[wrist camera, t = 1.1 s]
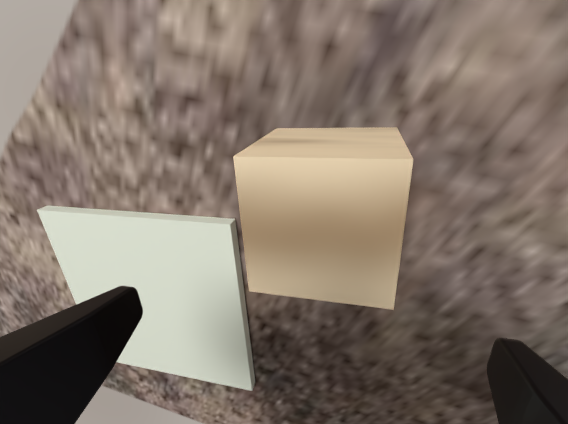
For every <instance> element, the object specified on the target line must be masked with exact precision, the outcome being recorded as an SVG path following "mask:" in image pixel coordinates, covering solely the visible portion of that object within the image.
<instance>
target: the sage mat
mask: <svg viewBox="0 0 568 424" xmlns="http://www.w3.org/2000/svg"><path fill="white" fill-rule="evenodd" d="M37 211H38V213H39V216H40V218H41V221H42V223H43V225H44V228H45V230H46V233H47V235H48V238H49V240H50V242H51V245H52V247H53V250H54V252H55V254H56V257H57V259H58V262H59V264H60V266H61V269H62V271H63V274H64V276H65V278H66V281H67V283H68V286H69V288H70V290H71V293H72V295H73V298H74V300H75V302H76V305H77V304H79V303H81V302H84V301H86V300H88V299H91V298H93V297H95V296H98V295H100V294H102V293H105V292H107V291H109V290H112V289H114V288H116V287H119V286H130V287H134V288H136V289H137V291H138V294H139V298H140V301H141V304H142V308H143V315H142V318H141V320H140V322H139V323H138V325H137V327H136V329H135V330H134V332H133V334H132V336H131V337H130V339H129V341H128V343H127V344H126V346H125V348H124V350H123V351H122V353H121V355H120V357H119V358H118V360H117V362H119V363H123V364H128V365H133V366H137V367H142V368H147V369H152V370H156V371H161V372H166V373H170V374H175V375H180V376H185V377H189V378H194V379H199V380H203V381H208V382H213V383H218V384H222V385H227V386H232V387H236V388H241V389H246V390H251V391H252V390H253V387H254V384H255V375H254V367H253V359H252V351H251V343H250V335H249V327H248V318H247V310H246V302H245V294H244V286H243V278H242V270H241V262H240V253H239V245H238V237H237V229H236V221H235V219H231V218H217V217H203V216H189V215H174V214H160V213H146V212H131V211H117V210H103V209H88V208H74V207H60V206H45V207H43V208H41V209H38V210H37Z"/></svg>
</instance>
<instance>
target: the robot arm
mask: <svg viewBox="0 0 568 424" xmlns="http://www.w3.org/2000/svg"><path fill="white" fill-rule="evenodd" d="M142 315H143V308H142V304H141V301H140V298H139V294H138V291H137V289H136V288H134V287H130V286H119V287H116V288H114V289H112V290H109V291H107V292H105V293H102V294H100V295H98V296H95V297H93V298H91V299H88V300H86V301H84V302H81V303H79V304H77V305H74V306H72V307H70V308H67V309H65V310H63V311H60V312H58V313H56V314H53V315H51V316H49V317H46V318H44V319H42V320H39V321H37V322H35V323H32V324H30V325H28V326H25V327H23V328H21V329H18V330H16V331H14V332H11V333H9V334H7V335H4V336H2V337H0V424H75V422H76V421H77V419H78V418H79V417H80V415H81V413H82V412H83V411H84V409H85V408H86V406H87V405H88V404H89V402H90V401H91V399H92V398H93V396H94V395H95V393H96V392H97V390H98V389H99V388H100V386H101V385H102V383H103V382H104V380H105V379H106V378H107V376H108V374H109V373H110V371H111V370H112V368H113V367H114V365H115V363H116V362H117V360H118V358H119V357H120V355H121V353H122V351H123V350H124V348H125V346H126V344H127V343H128V341H129V339H130V337H131V336H132V334H133V332H134V330H135V329H136V327H137V325H138V323H139V322H140V320H141V318H142ZM487 375H488V380H489V384H490V388H491V392H492V397H493V401H494V405H495V409H496V414H497V418H498V422H499V424H568V379H567V378H565V377H564V376H563V375H562V374H561V373H559V372H558V371H557V370H556V369H554V368H553V367H552V366H551V365H550V364H548V363H547V362H546V361H545V360H544V359H542V358H541V357H540V356H539V355H537V354H536V353H535V352H534V351H533V350H531V349H530V348H529V347H528V346H527V345H525V344H524V343H523V342H521V341H519V340H514V339H507V338H497V339H496V340H495V342H494V345H493V348H492V351H491V354H490V357H489V360H488V364H487Z"/></svg>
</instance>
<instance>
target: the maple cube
mask: <svg viewBox="0 0 568 424" xmlns="http://www.w3.org/2000/svg"><path fill="white" fill-rule="evenodd" d="M233 158H234V167H235V175H236V184H237V192H238V201H239V209H240V218H241V226H242V235H243V243H244V252H245V260H246V269H247V277H248V286H249V291H251V292H259V293H267V294H274V295H282V296H290V297H298V298H306V299H314V300H321V301H329V302H337V303H345V304H353V305H360V306H368V307H376V308H384V309H392V310H394V302H395V295H396V287H397V280H398V272H399V264H400V257H401V249H402V242H403V234H404V226H405V219H406V211H407V204H408V196H409V188H410V181H411V173H412V166H413V158H412V156H411V154H410V152H409V150H408V148H407V146H406V144H405V142H404V140H403V138H402V137H401V135H400V133H399V131H398V129H397V128H277V129H275V130H274V131H272V132H270V133H269V134H267V135H266V136H264V137H263V138H261V139H260V140H258V141H257V142H255V143H253V144H252V145H250V146H249V147H247V148H246V149H244V150H243V151H241V152H240V153H238V154H236V155H235V156H233Z"/></svg>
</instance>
